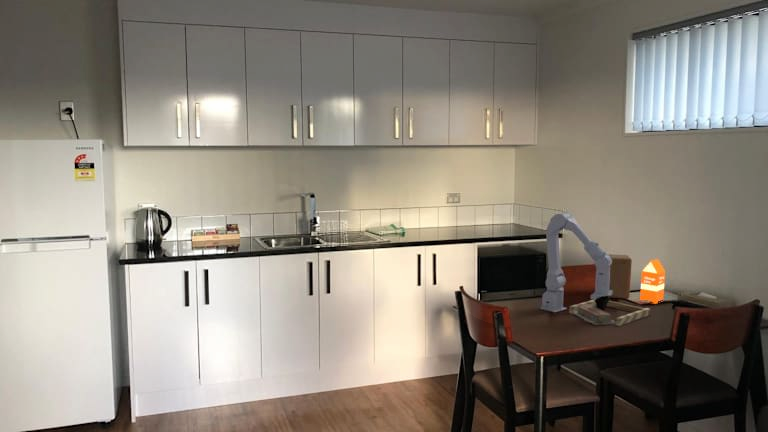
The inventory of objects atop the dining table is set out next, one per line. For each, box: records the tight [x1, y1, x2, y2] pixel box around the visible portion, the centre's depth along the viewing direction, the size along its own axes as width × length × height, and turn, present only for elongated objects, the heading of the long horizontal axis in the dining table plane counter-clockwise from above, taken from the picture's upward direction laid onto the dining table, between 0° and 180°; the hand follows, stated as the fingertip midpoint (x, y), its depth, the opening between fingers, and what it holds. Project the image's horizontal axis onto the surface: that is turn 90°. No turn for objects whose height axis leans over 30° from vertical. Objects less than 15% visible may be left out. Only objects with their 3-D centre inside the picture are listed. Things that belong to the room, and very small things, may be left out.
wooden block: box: [607, 254, 633, 299], centre depth 307 cm, size 10×10×20 cm
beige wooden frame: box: [568, 299, 651, 327], centre depth 276 cm, size 26×24×3 cm
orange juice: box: [639, 258, 666, 305], centre depth 299 cm, size 8×9×20 cm
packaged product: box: [572, 304, 616, 326], centre depth 268 cm, size 18×5×10 cm
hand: (600, 313), depth 271 cm, fingers closed, pressing on packaged product
